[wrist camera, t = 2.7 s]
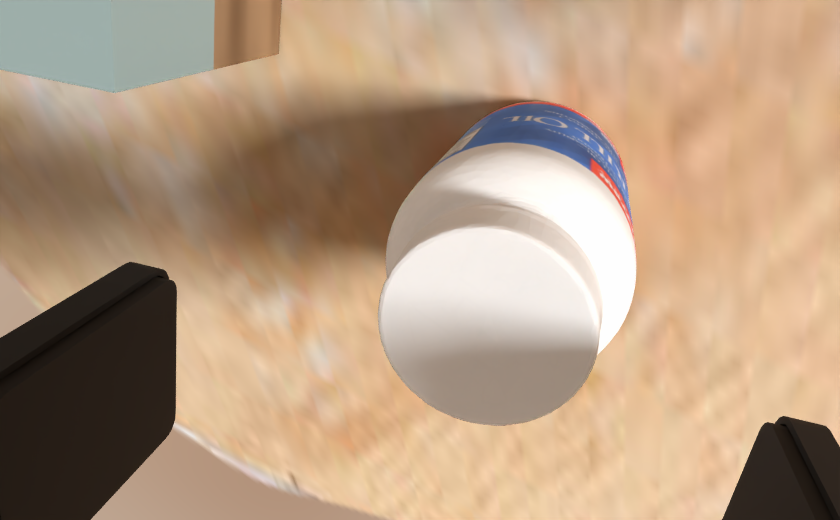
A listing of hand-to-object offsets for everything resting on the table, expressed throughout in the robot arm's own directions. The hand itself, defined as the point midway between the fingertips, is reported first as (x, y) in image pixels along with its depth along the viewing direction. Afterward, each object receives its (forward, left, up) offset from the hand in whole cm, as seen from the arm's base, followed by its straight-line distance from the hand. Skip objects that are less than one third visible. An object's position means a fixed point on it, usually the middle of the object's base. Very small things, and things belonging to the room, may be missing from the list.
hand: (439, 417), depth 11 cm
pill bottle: (0, -1, -12) cm, 12 cm away
